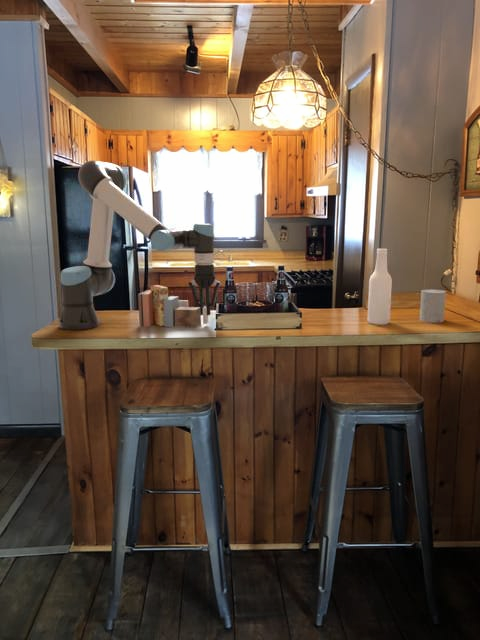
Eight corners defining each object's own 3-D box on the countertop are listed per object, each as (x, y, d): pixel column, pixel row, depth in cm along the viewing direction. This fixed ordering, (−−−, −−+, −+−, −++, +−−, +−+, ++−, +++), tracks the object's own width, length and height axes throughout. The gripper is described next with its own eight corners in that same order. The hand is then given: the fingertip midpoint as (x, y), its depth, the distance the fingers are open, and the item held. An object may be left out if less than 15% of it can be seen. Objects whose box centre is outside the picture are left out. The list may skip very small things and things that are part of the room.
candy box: (170, 325, 207) (168, 287, 203) (160, 326, 204) (158, 288, 201) (160, 321, 214) (159, 284, 211) (151, 322, 212) (149, 285, 208)
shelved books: (143, 326, 206) (142, 294, 203) (151, 321, 215) (150, 290, 212) (172, 327, 204) (171, 294, 201) (179, 322, 212) (178, 291, 209)
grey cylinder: (444, 323, 208) (446, 293, 205) (419, 321, 211) (421, 292, 209) (443, 318, 217) (445, 289, 214) (419, 317, 220) (421, 288, 217)
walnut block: (175, 326, 204) (174, 309, 203) (179, 323, 210) (179, 306, 209) (197, 327, 203) (196, 310, 201) (201, 324, 208) (200, 307, 207)
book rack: (139, 326, 206) (138, 294, 203) (150, 320, 217) (148, 289, 214) (180, 327, 202) (179, 295, 200) (188, 321, 213) (187, 290, 211)
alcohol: (392, 324, 206) (397, 249, 199) (370, 325, 205) (374, 249, 199) (385, 320, 214) (389, 247, 208) (364, 320, 214) (367, 248, 207)
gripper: (185, 264, 197) (187, 324, 202) (218, 265, 195) (219, 325, 200) (191, 262, 205) (192, 320, 210) (222, 263, 202) (223, 321, 207)
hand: (205, 323), depth 205 cm, fingers closed
